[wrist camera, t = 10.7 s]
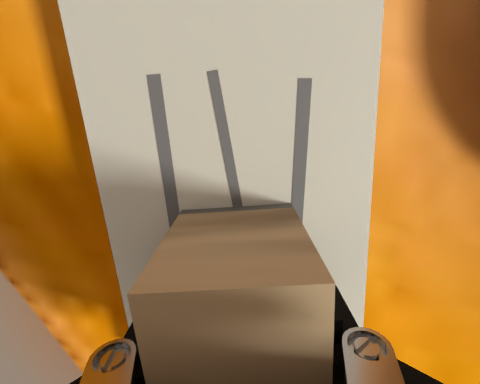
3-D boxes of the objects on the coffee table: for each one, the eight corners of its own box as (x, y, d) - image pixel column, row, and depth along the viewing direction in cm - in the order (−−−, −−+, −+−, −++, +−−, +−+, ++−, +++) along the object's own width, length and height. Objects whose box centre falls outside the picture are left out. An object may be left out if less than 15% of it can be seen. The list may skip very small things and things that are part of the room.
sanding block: (181, 209, 11) (126, 294, 6) (291, 203, 11) (335, 283, 6) (199, 347, 13) (170, 504, 8) (293, 343, 13) (329, 499, 8)
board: (30, -219, 9) (-2, -272, 7) (382, -258, 8) (404, -318, 7) (144, 343, 15) (136, 363, 13) (351, 332, 14) (361, 352, 13)
